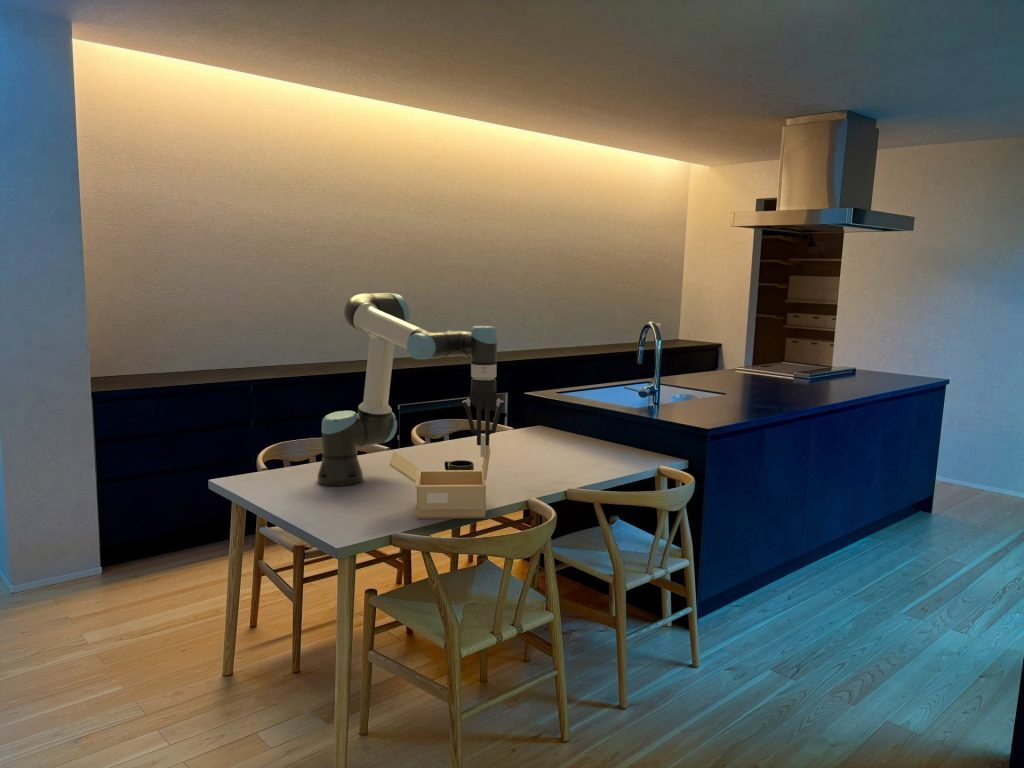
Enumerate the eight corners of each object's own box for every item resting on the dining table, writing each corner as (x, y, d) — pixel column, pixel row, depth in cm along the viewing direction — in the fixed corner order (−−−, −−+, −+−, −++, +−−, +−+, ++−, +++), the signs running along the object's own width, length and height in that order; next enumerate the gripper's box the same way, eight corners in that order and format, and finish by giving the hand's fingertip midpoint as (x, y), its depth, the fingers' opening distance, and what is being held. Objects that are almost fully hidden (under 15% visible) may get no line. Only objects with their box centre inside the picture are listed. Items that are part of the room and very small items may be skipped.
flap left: (414, 482, 213) (389, 465, 211) (417, 469, 227) (393, 453, 226) (416, 481, 213) (390, 463, 211) (418, 467, 227) (394, 451, 226)
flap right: (483, 467, 229) (488, 439, 228) (486, 480, 214) (490, 450, 213) (482, 467, 229) (486, 439, 228) (484, 480, 214) (488, 450, 213)
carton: (416, 519, 213) (416, 486, 211) (419, 501, 230) (419, 470, 229) (485, 519, 215) (485, 486, 213) (483, 500, 232) (483, 470, 230)
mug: (455, 483, 250) (456, 456, 249) (478, 491, 242) (478, 463, 240) (436, 488, 245) (436, 460, 243) (458, 496, 236) (459, 467, 235)
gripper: (461, 379, 213) (461, 459, 216) (506, 380, 214) (505, 458, 217) (461, 376, 220) (461, 453, 224) (504, 376, 221) (503, 452, 225)
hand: (482, 455), depth 221 cm, fingers closed
